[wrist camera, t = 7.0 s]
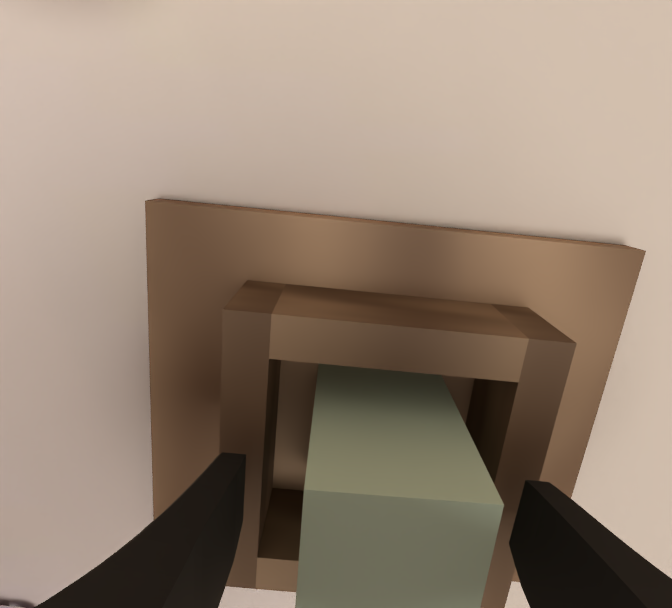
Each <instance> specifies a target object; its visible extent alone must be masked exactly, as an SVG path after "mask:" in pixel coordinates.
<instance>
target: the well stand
mask: <svg viewBox="0 0 672 608" xmlns="http://www.w3.org/2000/svg"><path fill="white" fill-rule="evenodd" d="M145 211H146V249H147V286H148V324H149V361H150V399H151V436H152V474H153V511H154V520H155V519H156V518H157V517H158V516H159V515H160V514H162V513H163V512H164V511H165V510H166V509H167V508H168V507H169V506H170V505H171V504H172V503H173V502H174V501H175V500H176V499H177V498H178V497H179V496H180V495H181V494H182V493H183V492H184V491H185V490H186V489H187V488H188V487H189V486H190V485H191V484H192V483H193V482H194V481H195V480H196V479H197V478H198V477H199V476H200V475H201V474H202V473H203V472H204V471H205V469H206V468H207V467H208V466H209V465H210V464H211V463H212V462H213V461H214V459H215V458H216V457H217V456H218V455H219V454H221V453H222V452H225V453H236V454H246V469H245V491H244V513H243V523H242V527H241V532H240V536H239V541H238V545H237V550H236V554H235V558H234V562H233V565H232V568H231V571H230V574H229V577H228V580H227V583H226V586H230V587H242V588H253V589H265V590H276V591H288V592H296V591H297V578H298V564H299V550H300V536H301V523H302V509H303V495H304V484H305V476H306V467H307V459H308V450H309V442H310V433H311V425H312V416H313V408H314V399H315V391H316V382H317V374H318V365H319V364H330V365H340V366H351V367H361V368H372V369H382V370H393V371H403V372H414V373H425V374H435V375H442V378H443V380H444V382H445V384H446V386H447V388H448V390H449V392H450V394H451V396H452V398H453V400H454V402H455V404H456V406H457V409H458V411H459V413H460V415H461V417H462V419H463V421H464V423H465V425H466V427H467V429H468V431H469V433H470V435H471V438H472V440H473V442H474V444H475V446H476V448H477V450H478V452H479V454H480V456H481V458H482V460H483V462H484V464H485V466H486V469H487V471H488V473H489V475H490V477H491V479H492V481H493V483H494V485H495V487H496V489H497V491H498V493H499V495H500V498H501V500H502V502H503V504H504V507H503V512H502V516H501V520H500V525H499V529H498V533H497V537H496V542H495V546H494V550H493V555H492V559H491V563H490V568H489V572H488V576H487V581H486V585H485V589H484V593H483V598H482V602H481V606H480V608H504V607H505V603H506V600H507V596H508V592H509V589H510V585H511V581H516V582H520V580H519V577H518V574H517V571H516V567H515V564H514V560H513V557H512V553H511V550H510V546H509V540H510V537H511V533H512V529H513V525H514V521H515V518H516V514H517V510H518V506H519V503H520V499H521V495H522V491H523V487H524V484H525V480H533V481H544V482H550V483H551V484H552V485H554V486H555V487H557V488H558V489H559V490H560V491H562V492H563V493H564V494H566V495H567V496H568V497H569V498H570V499H571V496H572V493H573V490H574V486H575V483H576V480H577V476H578V473H579V470H580V467H581V463H582V460H583V457H584V453H585V450H586V447H587V444H588V440H589V437H590V434H591V430H592V427H593V424H594V420H595V417H596V414H597V411H598V407H599V404H600V401H601V397H602V394H603V391H604V387H605V384H606V381H607V378H608V374H609V371H610V368H611V364H612V361H613V358H614V354H615V351H616V348H617V345H618V341H619V338H620V335H621V331H622V328H623V325H624V322H625V318H626V315H627V312H628V308H629V305H630V302H631V298H632V295H633V292H634V289H635V285H636V282H637V279H638V275H639V272H640V269H641V265H642V262H643V259H644V256H645V252H646V251H644V250H641V249H637V248H633V247H629V246H626V245H616V244H606V243H596V242H586V241H576V240H566V239H556V238H546V237H536V236H526V235H516V234H506V233H496V232H486V231H476V230H466V229H456V228H446V227H436V226H426V225H416V224H406V223H397V222H387V221H377V220H367V219H357V218H347V217H337V216H327V215H317V214H307V213H297V212H287V211H277V210H267V209H257V208H247V207H237V206H227V205H217V204H207V203H197V202H187V201H177V200H167V199H153V200H147V201H145Z"/></svg>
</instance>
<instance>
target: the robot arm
mask: <svg viewBox="0 0 672 608" xmlns="http://www.w3.org/2000/svg"><path fill="white" fill-rule="evenodd" d="M245 469H246V454H236V453H225V452H222V453H221V454H219V455H218V456H217V457H216V458H215V459H214V461H213V462H212V463H211V464H210V465H209V466H208V467H207V468H206V469H205V471H204V472H203V473H202V474H201V475H200V476H199V477H198V478H197V479H196V480H195V481H194V482H193V483H192V484H191V485H190V486H189V487H188V488H187V489H186V490H185V491H184V492H183V493H182V494H181V495H180V496H179V497H178V498H177V499H176V500H175V501H174V502H173V503H172V504H171V505H170V506H169V507H168V508H167V509H166V510H165V511H164V512H163V513H162V514H160V515H159V516H158V517H157V518H156V519H155V520H154V521H153V522H151V523H150V524H149V525H148V526H147V527H146V528H145V529H144V530H142V531H141V532H140V533H139V534H138V535H137V536H135V537H134V538H133V539H132V540H131V541H129V542H128V543H127V544H126V545H124V546H123V547H122V548H121V549H119V550H118V551H117V552H116V553H114V554H113V555H112V556H110V557H109V558H108V559H106V560H105V561H104V562H102V563H101V564H100V565H98V566H97V567H95V568H94V569H93V570H91V571H90V572H88V573H87V574H85V575H84V576H83V577H81V578H80V579H78V580H77V581H75V582H74V583H72V584H71V585H69V586H68V587H66V588H65V589H63V590H62V591H60V592H59V593H57V594H56V595H54V596H53V597H51V598H49V599H48V600H46V601H44V602H43V603H41V604H39V605H38V606H36V607H34V608H218V606H219V603H220V600H221V597H222V595H223V592H224V589H225V586H226V583H227V580H228V577H229V574H230V571H231V568H232V565H233V562H234V558H235V554H236V550H237V545H238V541H239V536H240V532H241V527H242V523H243V513H244V491H245ZM509 546H510V550H511V553H512V557H513V560H514V564H515V567H516V571H517V574H518V577H519V580H520V583H521V586H522V589H523V591H524V594H525V596H526V598H527V601H528V603H529V605H530V608H672V579H671V578H670V577H668V576H667V575H666V574H664V573H663V572H662V571H660V570H659V569H658V568H656V567H655V566H654V565H652V564H651V563H650V562H648V561H647V560H646V559H644V558H643V557H642V556H641V555H639V554H638V553H637V552H635V551H634V550H633V549H632V548H630V547H629V546H628V545H627V544H625V543H624V542H623V541H622V540H620V539H619V538H618V537H617V536H615V535H614V534H613V533H612V532H610V531H609V530H608V529H607V528H606V527H604V526H603V525H602V524H601V523H600V522H598V521H597V520H596V519H595V518H594V517H592V516H591V515H590V514H589V513H587V512H586V511H585V510H584V509H583V508H581V507H580V506H579V505H578V504H577V503H575V502H574V501H573V500H572V499H570V498H569V497H568V496H567V495H566V494H564V493H563V492H562V491H560V490H559V489H558V488H557V487H555V486H554V485H552V484H551V483H550V482H544V481H533V480H525V484H524V487H523V491H522V495H521V499H520V503H519V506H518V510H517V514H516V518H515V521H514V525H513V529H512V533H511V537H510V540H509ZM0 608H24V607H15V606H3V605H0Z"/></svg>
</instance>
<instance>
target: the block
mask: <svg viewBox="0 0 672 608" xmlns="http://www.w3.org/2000/svg"><path fill="white" fill-rule="evenodd" d="M503 507H504V504H503V502H502V500H501V498H500V495H499V493H498V491H497V489H496V487H495V485H494V483H493V481H492V479H491V477H490V475H489V473H488V471H487V469H486V466H485V464H484V462H483V460H482V458H481V456H480V454H479V452H478V450H477V448H476V446H475V444H474V442H473V440H472V438H471V435H470V433H469V431H468V429H467V427H466V425H465V423H464V421H463V419H462V417H461V415H460V413H459V411H458V409H457V406H456V404H455V402H454V400H453V398H452V396H451V394H450V392H449V390H448V388H447V386H446V384H445V382H444V380H443V378H442V375H435V374H425V373H414V372H403V371H393V370H382V369H372V368H361V367H351V366H340V365H330V364H319V365H318V374H317V382H316V391H315V399H314V408H313V416H312V425H311V433H310V442H309V450H308V459H307V467H306V476H305V484H304V495H303V509H302V523H301V536H300V550H299V564H298V578H297V591H296V605H295V608H480V606H481V602H482V598H483V593H484V589H485V585H486V581H487V576H488V572H489V568H490V563H491V559H492V555H493V550H494V546H495V542H496V537H497V533H498V529H499V525H500V520H501V516H502V512H503Z"/></svg>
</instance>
